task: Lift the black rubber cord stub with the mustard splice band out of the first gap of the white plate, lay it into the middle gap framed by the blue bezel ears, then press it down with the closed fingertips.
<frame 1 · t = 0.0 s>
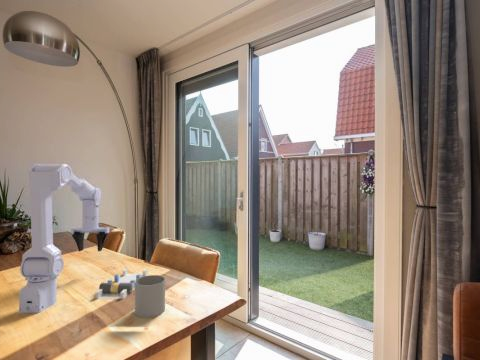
hand: (90, 250, 115), 10 cm above the table, tool pointing down, fingers open, 7 cm apart
cup: (150, 315, 83), on the table
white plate: (124, 287, 103), on the table
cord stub: (116, 292, 96), point 1 cm above the table, touching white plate
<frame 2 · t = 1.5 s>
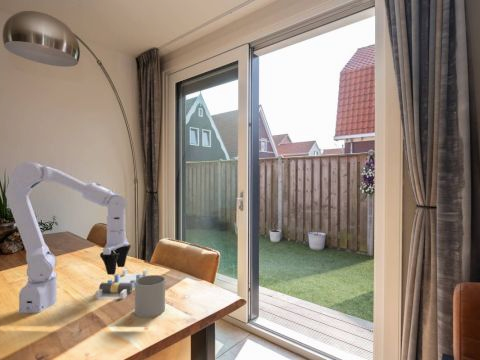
hand: (116, 270, 96), 8 cm above the table, tool pointing down, fingers open, 7 cm apart
nothing on the table moved.
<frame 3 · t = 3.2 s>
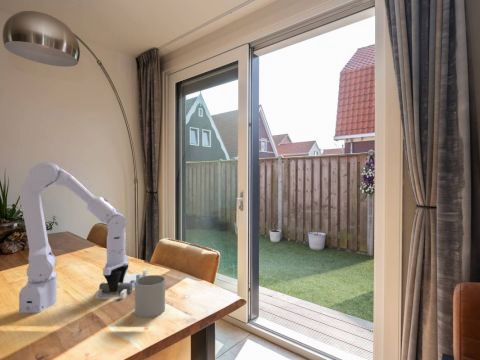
hand: (116, 289, 96), 2 cm above the table, tool pointing down, fingers closed on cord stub, 3 cm apart
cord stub: (116, 292, 96), point 1 cm above the table, touching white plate, gripper
everything else where it was.
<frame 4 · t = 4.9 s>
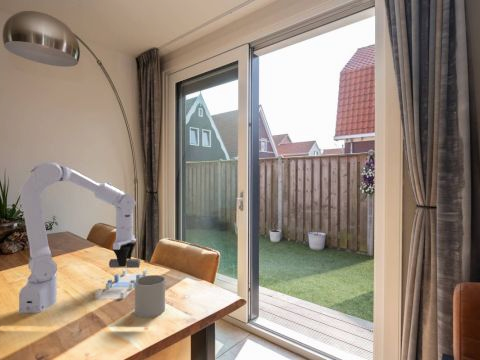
hand: (124, 264, 103), 8 cm above the table, tool pointing down, fingers closed on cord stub, 3 cm apart
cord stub: (124, 267, 103), point 7 cm above the table, touching gripper
everything else where it was.
when the fingers open (3 cm above the table, at t = 6.5 s): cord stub stays where it is, resting on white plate.
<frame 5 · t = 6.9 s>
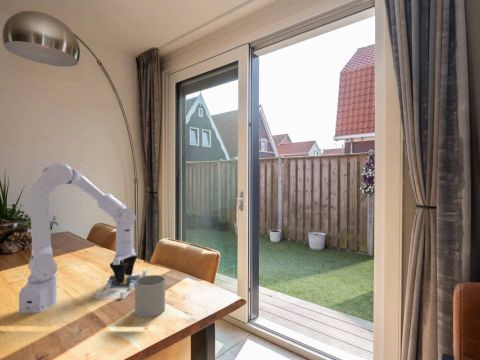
hand: (124, 278, 103), 3 cm above the table, tool pointing down, fingers open, 7 cm apart
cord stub: (124, 284, 103), point 1 cm above the table, touching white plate
everything else where it was.
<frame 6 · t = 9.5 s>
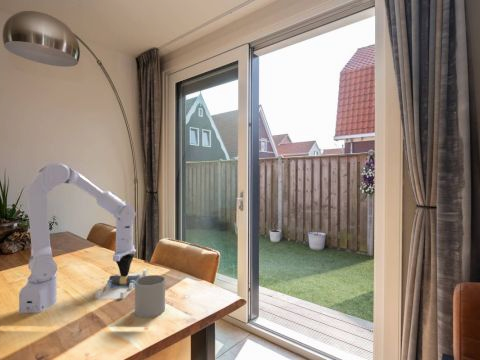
hand: (124, 275, 103), 4 cm above the table, tool pointing down, fingers closed
nothing on the table moved.
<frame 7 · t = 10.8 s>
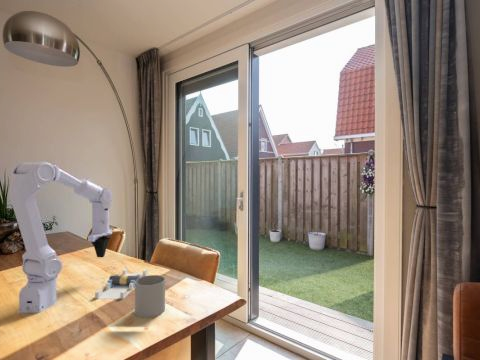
hand: (100, 256, 107), 10 cm above the table, tool pointing down, fingers closed
nothing on the table moved.
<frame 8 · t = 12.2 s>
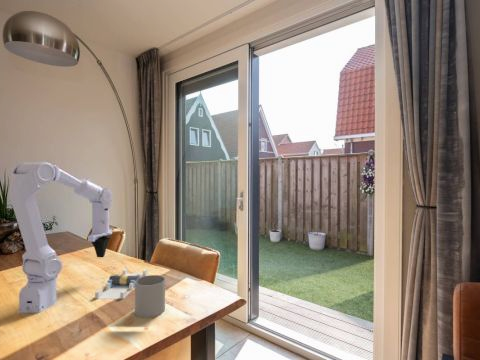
hand: (100, 256, 107), 10 cm above the table, tool pointing down, fingers closed
nothing on the table moved.
at the end: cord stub 0.1 cm off-centre on the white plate, point 1.1 cm above the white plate's base; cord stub moved 7.0 cm from its start; the gripper is holding nothing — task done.
